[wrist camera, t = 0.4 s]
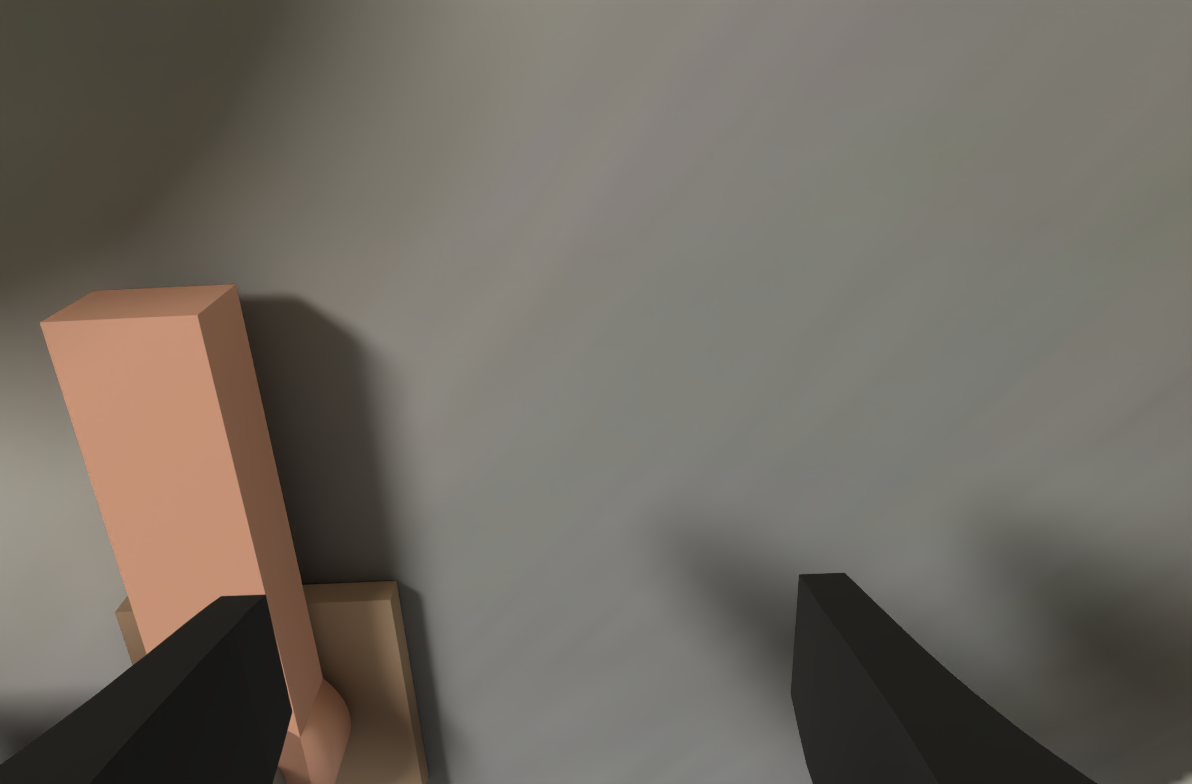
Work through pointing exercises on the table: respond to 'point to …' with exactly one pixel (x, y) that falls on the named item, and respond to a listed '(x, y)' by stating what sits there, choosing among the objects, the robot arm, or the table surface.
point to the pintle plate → (356, 677)
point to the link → (192, 481)
